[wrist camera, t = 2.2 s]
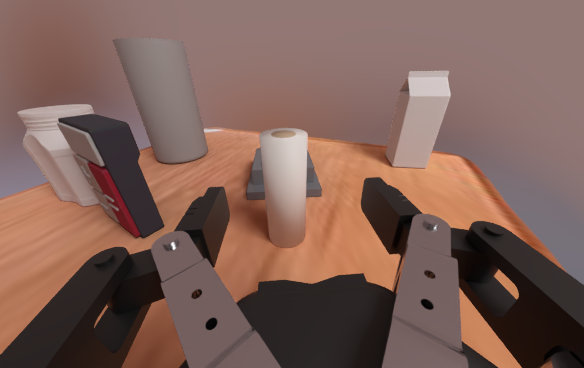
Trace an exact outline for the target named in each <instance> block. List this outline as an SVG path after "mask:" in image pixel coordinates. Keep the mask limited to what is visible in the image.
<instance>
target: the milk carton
mask: <svg viewBox="0 0 584 368" xmlns="http://www.w3.org/2000/svg"><path fill="white" fill-rule="evenodd" d="M448 74H449V71H409V75H408V78H407V80H406V81H405V83H404V85H403V86H402V88H401V90H400V91H399V96H398V100H397V105H396V109H395V114H394V118H393V123H392V127H391V131H390V136H389V140H388V145H387V149H386V153H385V155H386V157H387V159H388V160H389V162H390V163H391V165H392V166H393V167H410V168H426V167H427V164H428V161H429V158H430V155H431V152H432V149H433V146H434V143H435V140H436V137H437V134H438V131H439V128H440V126H441V122H442V120H443V117H444V114H445V111H446V108H447V105H448V102H449V99H450V96H451V95H450V89H449V84H448Z"/></svg>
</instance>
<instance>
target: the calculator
mask: <svg viewBox="0 0 584 368" xmlns="http://www.w3.org/2000/svg"><path fill="white" fill-rule="evenodd" d="M58 121H59V123H57V125H58V127H59V129H60V131H61V132H62V134H63V136H64V138H65V139H66V141H67V143H68V144H69V146H70V148H71V150H72V151H74V152H75V153H77V154H75V155H73V157H74V159H75V160H76V162H77V164H78V166H79V167H80V169H81V171H82V174H84V176H85V178H86V179H87V181H88V183H89V184H90V185H91V186H92V187H93V188H92V190H93V191H94V193H95V195H96V197H97V198H98V200H99V202H100V205H101V206H102V207H103V209H104V210H105V212H106V213H107V214H108V215H109V216H110V217H111V218H113V219H114V220H115V221H116V222H118V223H120V224H121V226H123V227H124V228H125V229H126V230H128V231H129V232H130V233H131V234H133V235H134V236H135V237H137V236H141V237H142V238H145V237H147V236H148V235H150V234H152V233H154V232H155V231H157V230H159V229H161V228H162V227H164V223H163V221H162V219H161V216H160V214H159V212H158V209H157V207H156V204H155V202H154V200H153V197H152V195H151V192H150V190H149V188H148V185H147V183H146V181H145V178H144V176H143V173H142V171H141V169H140V166H139V164H138V159H139V155H140V152H139V149H138V147H137V144H136V142H135V139H134V137H133V134H132V132H131V130H130V127H129V125H128V124H127V123H126V122H123V121H119V120H115V119H111V118H107V117H103V116H99V115H95V114H85V115H78V116H71V117H64V118H58Z"/></svg>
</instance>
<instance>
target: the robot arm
mask: <svg viewBox="0 0 584 368" xmlns="http://www.w3.org/2000/svg"><path fill="white" fill-rule="evenodd" d="M361 208H362V211H363V213H364V214H365V216H366V217H367V219H368V221H369V222H370V224H371V226H372V227H373V229H374V230H375V232H376V234H377V235H378V237H379V239H380V240H381V242H382V243H383V245H384V247H385V248H386V250H387V251H388V253H389V254H400V256H401V257H400V260H399V264H398V268H397V272H396V276H395V280H394V284H393V288H392V291H391V290H389V289H387V288H385V287H382V286H380V285H377V284H374V283H370V282H367V281H366V279H365V276H364V274H363V273H362V274H350V275H338V276H335V277H332V278H329V279H326V280H323V281H320V282H318V283H314V284H308V283H302V282H295V281H289V280H277V281H265V282H259V284H258V291H256V292H253V293H251V294H249V295H247V296H246V297H244V298H242V299H241V300H239V301H238V302H237V303H236V302H235V301H234V299H233V298H232V296H231V295H230V293H229V292H228V290H227V289H226V287H225V286H224V284H223V282H222V281H221V279H220V278H219V276H218V275H217V273H216V272H215V270H214V269H213V268H214V267H215V264H216V260H217V257H218V254H219V251H220V248H221V244H222V241H223V238H224V235H225V232H226V228H227V225H228V222H229V217H230V213H229V207H228V202H227V198H226V193H225V189H224V187H209V188H208V189H207V191H206V193H205V195H204V196H203V197H199V198H197V199H196V200H195V201H193V202H192V204H191V205H190V207H189V208H188V210H187V211H186V213H185V215H184V216H183V218H182V219H181V221H180V222H179V224H178V226H177V227H176V229H175V230H174V232H170V233H168V234H165V235H163V236H162V237H160V238H159V239H157V240H156V241H155V242H154V244H153V245H152V247H151V249H149V250H145V251H142V252H138V253H135V254H131V255H130V254H129V252H128V251H127V249H126V248H124V247H113V248H109V249H107V250H104V251H102V252H100V253H98V254H96V255H94V256H93V257H91V258H90V259H89V260H88V261H87V262H86V263H85V264H84V265H83V266H82V267H81V268H80V269H79V270H78V271H77V272H76V273H75V274H74V275H73V277H72V278H71V279H70V280H69V281H68V282H67V283H66V284H65V285H64V286H63V287H62V288H61V290H60V291H59V292H58V293H57V294H56V295H55V296H54V297H53V298H52V299H51V300H50V302H49V303H48V304H47V305H46V306H45V307H44V308H43V309H42V310H41V311H40V312H39V313H38V315H37V316H36V317H35V318H34V319H33V320H32V321H31V322H30V323H29V324H28V325H27V327H26V328H25V329H24V330H23V331H22V332H21V333H20V334H19V335H18V336H17V337H16V338H15V340H14V341H13V342H12V343H11V344H10V345H9V346H8V347H7V348H6V349H5V350H4V352H3V353H2V354H1V355H0V368H121V367H122V365H123V363H124V360H125V358H126V356H127V354H128V352H129V350H130V348H131V346H132V344H133V341H134V339H135V337H136V335H137V333H138V331H139V329H140V327H141V325H142V322H143V320H144V318H145V316H146V314H147V312H148V310H149V308H150V306H151V303H153V302H156V301H158V300H161V299H164V298H166V301H167V304H168V307H169V310H170V313H171V316H172V319H173V322H174V325H175V328H176V331H177V333H178V336H179V339H180V342H181V345H182V348H183V351H184V354H185V357H186V360H185V361H184V362H183V363H182V365H181V366H180V367H179V368H498V367H497V366H495V365H494V364H492V363H491V362H490V361H488V360H487V359H486V358H484V357H483V356H481V355H480V354H479V353H477V352H476V351H475V350H473V349H472V348H470V347H469V346H468V345H466V344H465V343H464V342H462V341H461V320H460V299H459V287H460V289H461V290H462V291H463V292H464V294H465V295H466V296H467V298H468V299H469V300H470V301H471V303H472V304H473V305H474V307H475V308H476V309H477V310H478V312H479V313H480V314H481V316H482V317H483V318H484V319H485V321H486V322H487V323H488V325H489V326H490V327H491V328H492V330H493V331H494V332H495V333H496V335H497V336H498V337H499V339H500V340H501V341H502V342H503V344H504V345H505V346H506V348H507V349H508V350H509V351H510V353H511V354H512V355H513V357H514V358H515V359H516V360H517V362H518V363H519V364H520V366H521V367H522V368H584V285H582V284H581V283H580V282H578V281H577V280H576V279H574V278H573V277H572V276H570V275H569V274H568V273H566V272H565V271H564V270H562V269H561V268H559V267H558V266H557V265H555V264H554V263H553V262H551V261H550V260H549V259H547V258H546V257H544V256H543V255H542V254H540V253H539V252H538V251H536V250H535V249H534V248H532V247H531V246H529V245H528V244H527V243H525V242H524V241H523V240H521V239H520V238H519V237H517V236H516V235H514V234H513V233H512V232H510V231H509V230H507V229H505V228H504V227H502V226H499V225H497V224H494V223H490V222H485V221H476V222H473V223H472V224H471V226H470V228H469V230H464V229H456V228H450V226H449V225H448V223H447V222H445V221H444V220H442V219H441V218H439V217H436V216H433V215H429V214H423V213H422V212H420V211H419V210H418V209H417V208H416V207H415V206H414V205H413V204H412V203H411V202H410V201H409V200H408V199H407V198H406V197H405V196H403V194H402V193H401V192H400V191H399V190H398V189H396V188H394V187H392V186H390V185H387V184H386V183H385V182H384V181H383V180H382V179H381V178H380V177H375V178H366V179H365V180H364V185H363V192H362V198H361ZM498 269H499V270H500V271H501V272H502V273H504V274H505V275H506V276H507V277H508V278H509V279H510V280H511V281H512V282H513V283H514V284H515V286H516V287H517V289H518V292H519V297H518V299H517V300H516V299H515V298H514V297H513V296H512V295H511V294H510V293H509V292H508V291H507V290H506V289H505V288H504V286H503V285H502V284H501V283H500V282H499V281H498V280H497V279H496V278H495V277H494V275H495V274H496V272H497V271H498ZM106 304H107V305H108V308H107V309H106V311H105V313H104V314H103V316H102V317H101V319H100V320H99V322H98V323H97V325H96V326H95V328H94V325H95V322H96V320H97V318H98V316H99V315H100V313H101V312H102V310H103V309H104V307H105V306H106Z"/></svg>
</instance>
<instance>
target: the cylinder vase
mask: <svg viewBox="0 0 584 368" xmlns="http://www.w3.org/2000/svg"><path fill="white" fill-rule="evenodd" d="M113 42H114V45H115V48H116V51H117V53H118V56H119V59H120V61H121V64H122V67H123V70H124V72H125V75H126V78H127V80H128V83H129V86H130V89H131V91H132V94H133V97H134V99H135V102H136V105H137V108H138V110H139V113H140V116H141V118H142V121H143V124H144V126H145V129H146V132H147V135H148V137H149V140H150V143H151V146H152V148H153V151H154V154H155V156H156V159H157V160H158V161H160V162H162V163H167V164H179V163H186V162H190V161H194V160H197V159H199V158H201V157H203V156H204V155H206V153H207V152H208V147H207V142H206V138H205V134H204V129H203V125H202V121H201V116H200V112H199V107H198V103H197V99H196V95H195V90H194V85H193V81H192V77H191V73H190V68H189V64H188V59H187V55H186V51H185V46H184V42H182V41H176V40H167V39H151V38H124V39H123V38H122V39H114V40H113Z"/></svg>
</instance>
